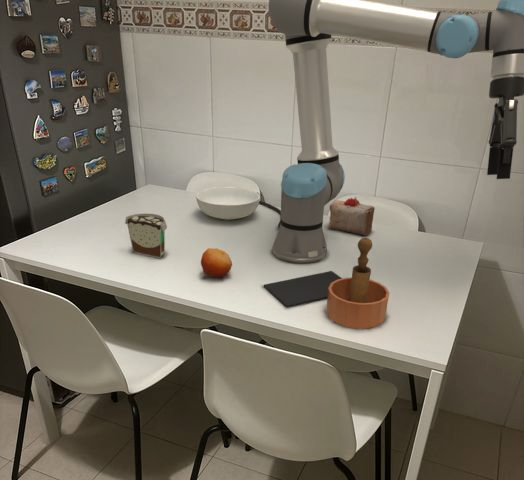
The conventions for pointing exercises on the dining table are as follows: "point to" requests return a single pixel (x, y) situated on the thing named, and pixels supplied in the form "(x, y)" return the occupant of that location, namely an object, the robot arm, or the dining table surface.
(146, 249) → the food container
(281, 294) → the rubber mat
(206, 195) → the serving bowl
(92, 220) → the dining table surface
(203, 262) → the fruit
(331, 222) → the food item
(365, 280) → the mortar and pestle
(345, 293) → the copper pot
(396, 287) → the dining table surface
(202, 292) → the dining table surface
